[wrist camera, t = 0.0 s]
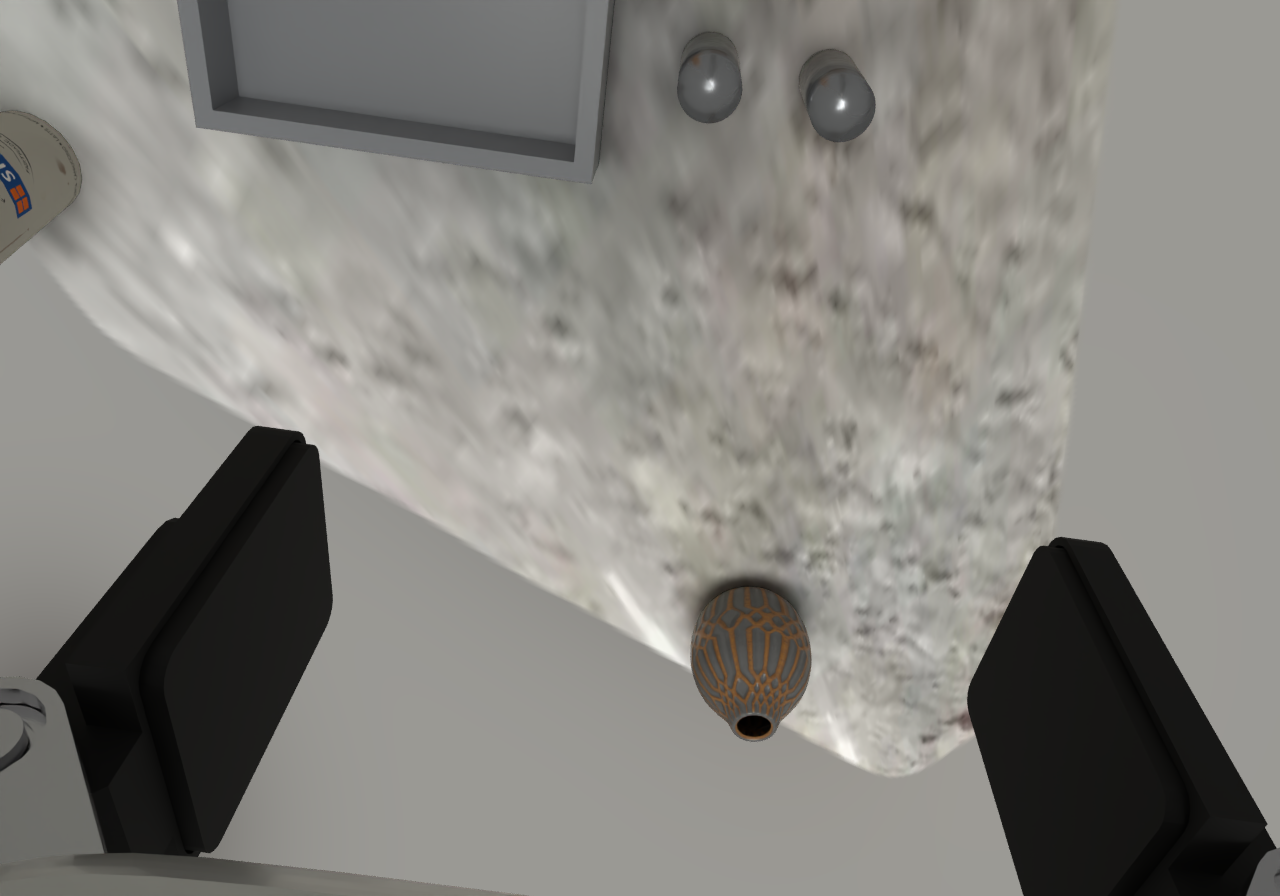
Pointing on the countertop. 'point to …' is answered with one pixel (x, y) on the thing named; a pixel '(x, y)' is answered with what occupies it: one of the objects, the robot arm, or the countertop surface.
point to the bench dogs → (824, 84)
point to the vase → (751, 660)
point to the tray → (409, 77)
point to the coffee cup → (32, 178)
